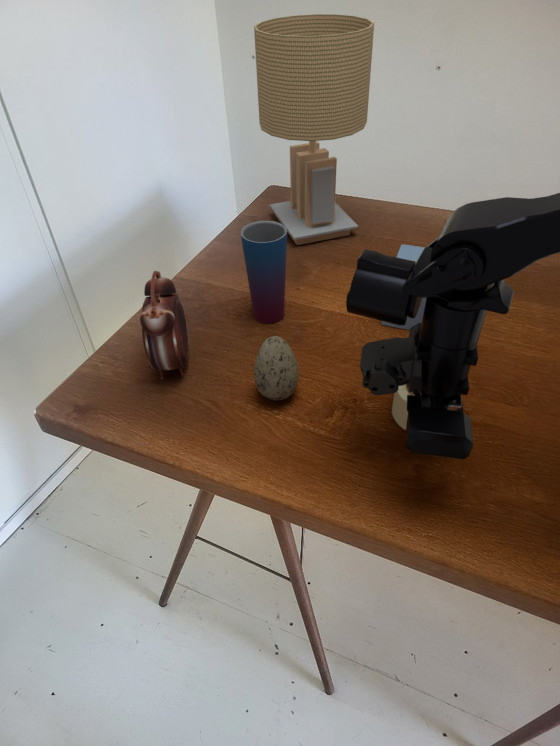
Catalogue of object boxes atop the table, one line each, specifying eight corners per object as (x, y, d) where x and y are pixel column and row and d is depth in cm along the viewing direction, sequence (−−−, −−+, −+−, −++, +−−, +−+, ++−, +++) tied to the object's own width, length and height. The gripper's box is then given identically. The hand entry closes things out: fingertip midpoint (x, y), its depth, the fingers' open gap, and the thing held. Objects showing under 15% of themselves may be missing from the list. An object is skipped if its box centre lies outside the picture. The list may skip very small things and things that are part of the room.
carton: (467, 297, 87) (477, 254, 82) (458, 339, 79) (470, 295, 74) (395, 285, 91) (401, 243, 85) (380, 324, 83) (385, 281, 77)
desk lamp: (253, 213, 113) (240, 20, 89) (337, 199, 117) (345, 10, 93) (282, 256, 99) (274, 41, 75) (375, 238, 103) (396, 28, 80)
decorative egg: (288, 415, 69) (286, 359, 62) (248, 402, 71) (242, 346, 64) (305, 386, 73) (305, 330, 66) (267, 375, 75) (263, 319, 68)
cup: (289, 327, 83) (286, 242, 73) (247, 327, 83) (238, 243, 73) (289, 302, 88) (287, 219, 78) (249, 303, 88) (242, 220, 78)
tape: (457, 400, 70) (465, 373, 67) (449, 443, 64) (456, 416, 61) (398, 386, 72) (403, 360, 69) (385, 427, 67) (389, 400, 64)
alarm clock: (160, 342, 81) (139, 258, 71) (190, 340, 81) (174, 255, 71) (154, 391, 73) (129, 303, 63) (188, 388, 73) (169, 300, 63)
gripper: (374, 277, 60) (363, 375, 71) (361, 386, 47) (350, 488, 57) (473, 285, 59) (447, 384, 69) (490, 401, 45) (454, 503, 56)
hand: (424, 434), depth 63 cm, fingers closed
